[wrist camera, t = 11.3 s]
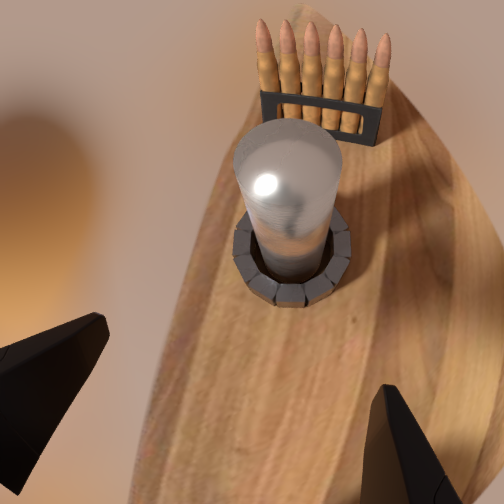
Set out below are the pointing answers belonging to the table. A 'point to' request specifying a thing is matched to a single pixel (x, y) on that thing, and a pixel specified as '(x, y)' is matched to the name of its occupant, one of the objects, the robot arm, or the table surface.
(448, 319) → the table surface
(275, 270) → the silver tall cylinder
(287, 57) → the ammunition clip
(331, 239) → the ring
